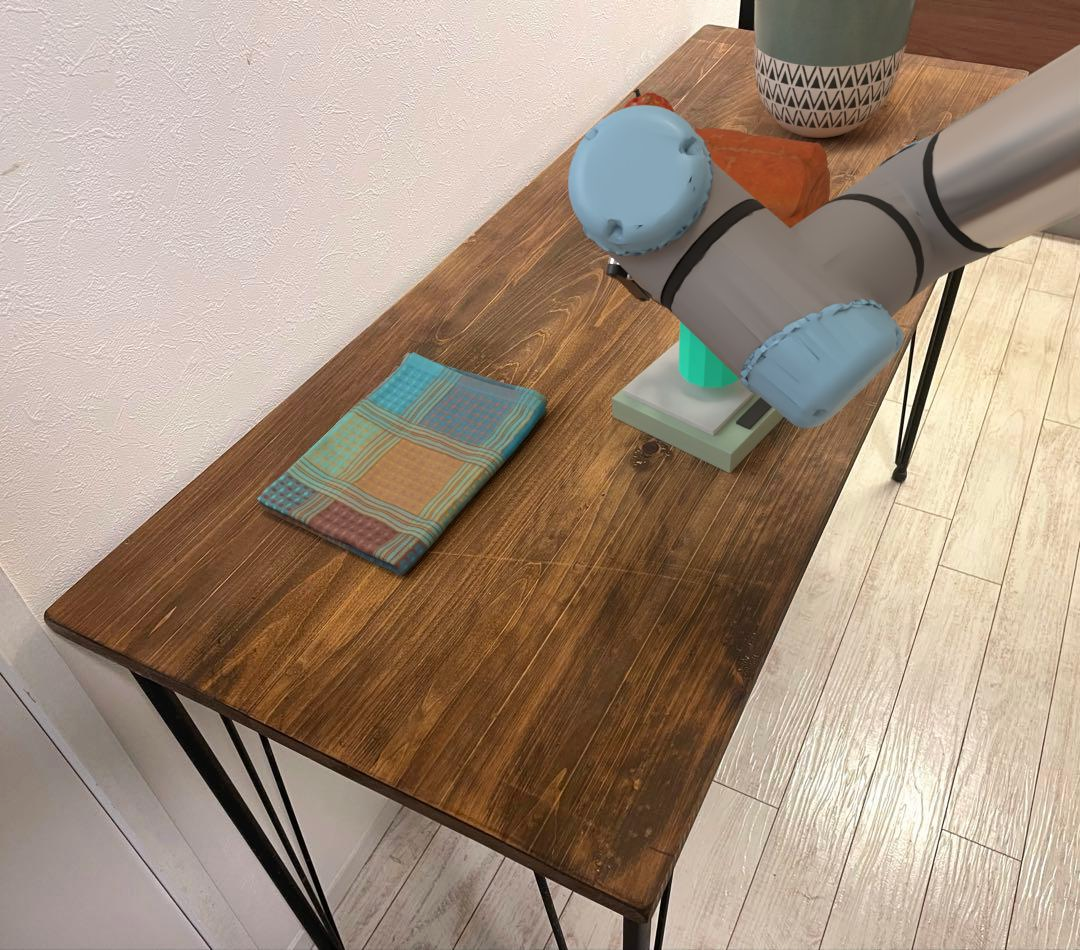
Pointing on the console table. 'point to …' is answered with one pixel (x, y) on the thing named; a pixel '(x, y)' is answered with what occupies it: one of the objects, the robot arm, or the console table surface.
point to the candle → (701, 362)
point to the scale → (695, 413)
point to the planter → (828, 60)
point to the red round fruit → (649, 100)
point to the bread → (773, 170)
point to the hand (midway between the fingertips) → (721, 311)
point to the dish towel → (405, 461)
